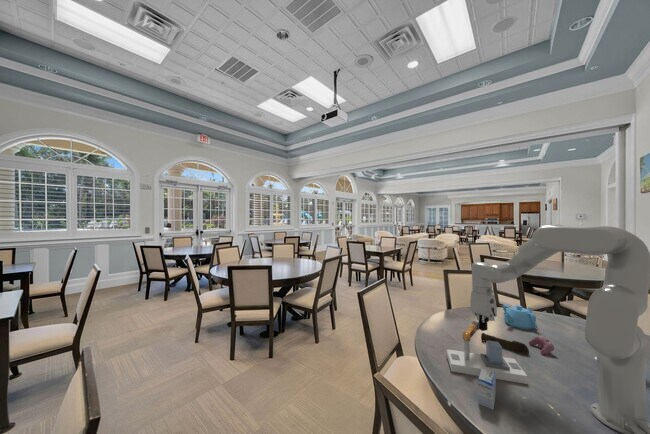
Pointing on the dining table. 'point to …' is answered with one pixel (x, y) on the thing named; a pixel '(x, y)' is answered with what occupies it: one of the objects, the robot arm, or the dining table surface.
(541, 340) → the video game controller
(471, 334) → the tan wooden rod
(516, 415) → the dining table surface
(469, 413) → the dining table surface
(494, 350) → the blue rectangular block
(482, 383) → the medicine box
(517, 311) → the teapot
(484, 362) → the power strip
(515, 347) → the hand tool
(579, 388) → the dining table surface
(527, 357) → the dining table surface
